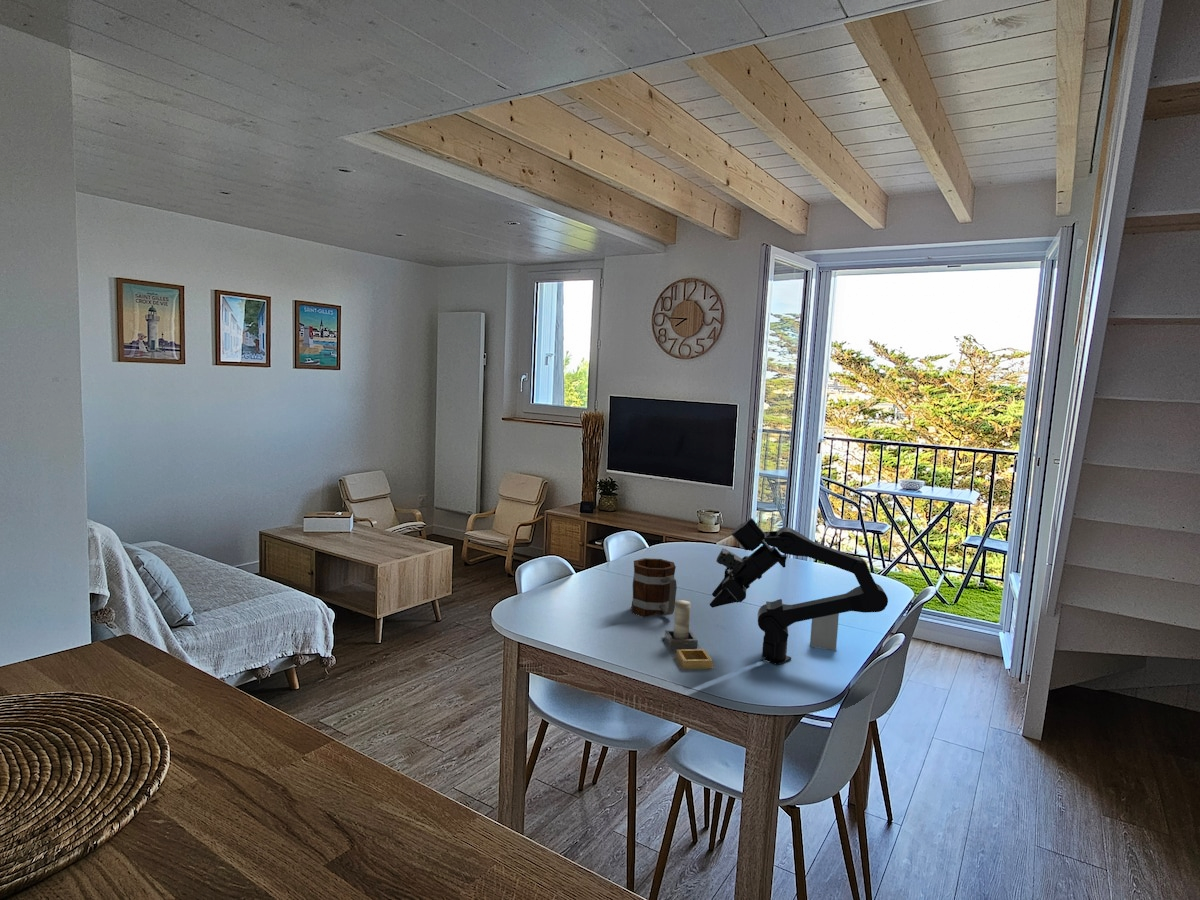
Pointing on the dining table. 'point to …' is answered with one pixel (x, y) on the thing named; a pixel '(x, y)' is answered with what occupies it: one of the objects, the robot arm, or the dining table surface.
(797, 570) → the dining table surface
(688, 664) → the grey socket board
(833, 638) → the beige rectangular block
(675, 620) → the peg
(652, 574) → the mug
